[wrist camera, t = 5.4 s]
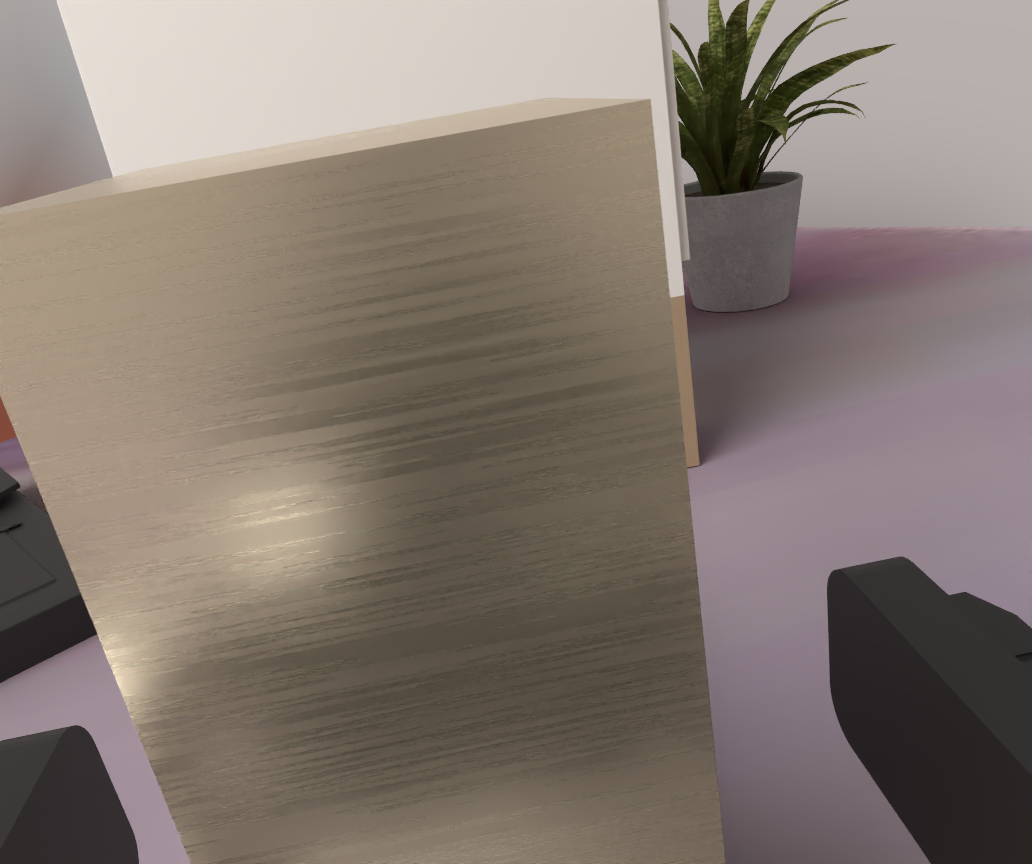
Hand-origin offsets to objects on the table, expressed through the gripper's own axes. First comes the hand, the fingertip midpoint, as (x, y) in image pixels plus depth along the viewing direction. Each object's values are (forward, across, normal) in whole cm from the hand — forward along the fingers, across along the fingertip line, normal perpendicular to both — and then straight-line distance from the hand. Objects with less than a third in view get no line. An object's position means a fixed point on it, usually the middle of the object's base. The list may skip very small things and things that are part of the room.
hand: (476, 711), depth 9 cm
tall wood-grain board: (+7, 0, +7) cm, 10 cm away
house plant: (+37, -16, +7) cm, 41 cm away
